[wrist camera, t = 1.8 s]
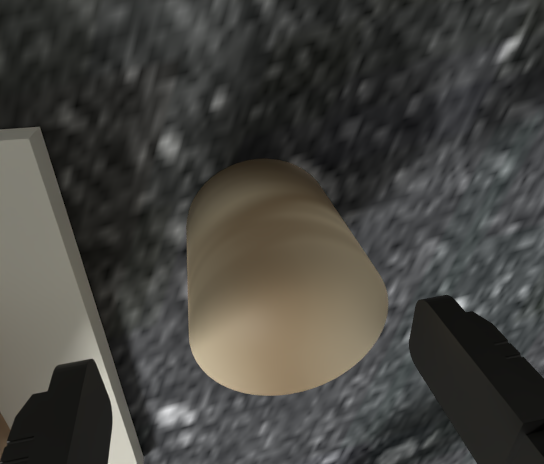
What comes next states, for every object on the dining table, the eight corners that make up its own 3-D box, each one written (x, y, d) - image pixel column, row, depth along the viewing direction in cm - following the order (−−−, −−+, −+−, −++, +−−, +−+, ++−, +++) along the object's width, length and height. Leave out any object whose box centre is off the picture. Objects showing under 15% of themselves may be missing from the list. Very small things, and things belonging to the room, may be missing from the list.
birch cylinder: (333, 152, 14) (401, 230, 9) (325, 275, 16) (376, 378, 12) (176, 165, 13) (174, 256, 9) (195, 292, 15) (200, 409, 11)
